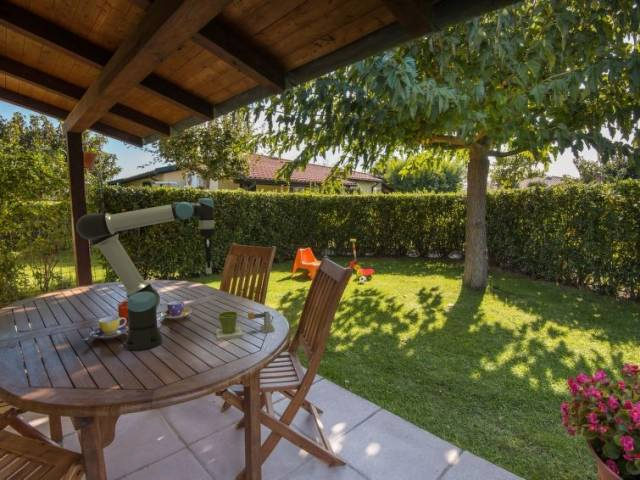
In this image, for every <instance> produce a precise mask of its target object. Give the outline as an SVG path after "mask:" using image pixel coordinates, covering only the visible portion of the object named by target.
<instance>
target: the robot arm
mask: <svg viewBox="0 0 640 480" xmlns="http://www.w3.org/2000/svg"><path fill="white" fill-rule="evenodd" d="M214 205H215V204H214V199H213V198H205V197H204V198H202V197H201V198H198V199H197V201H195V202H194V201H193V202H191V201H189V202H187V201H182V202H181V201H178V202H173V203H171V204H165V205H160V206H154V207H148V208H142V209H136V210H130V211H125V212H119V213H114V214H111V213H108V212H105V213H104V212H103V213H102V212H94V213H88V214H87V213H86V214H84V215H83V216H81V217H80V218H78V220H77V221H76V225H75V226H76V227H75V228H76V232H77V233H78V234H79V236H80V237H81V238H83V239H86V240H89V241H90V243H91V244H92V246H93V247H96V248H99V250H100V251H101V253H102V255H103V256H104V258H105V259H106V260H107V262H108V263H109V265H110V266H111V269H112V270H113V271H114V273H115V274H116V276H117V278H118V279H119V280H120V282H121V283H122V286H123V287H124V288H125V290H126V294H125V296H126V298H127V299H126V300H127V301H126V302H127V303H126V307H127V316H128V317H127V319H128V332H127V336H126V339H125V349H127V350H128V351H132V350H135V351H134V352H136V351H137V352H138V351H145V349H146V350H149V349H153V348H156V347H157V346H159V345H161V344H162V343H163V335H162V333H161V330H160V328H159V326H158V316H157V315H158V314H157V313H158V312H157V309H158V306H160V302H161V297H160V293H159V292H158V291H157V290H156V289H155V288H154V287H153V286H152V284H151V283H150V282H149V281H146V280H144V278H143V277H142V275H141V273H140V272H139V270H138V268H137V267H136V265H135V263H134V262H133V261H132V259H131V258H130V256H129V255H128V253H127V251H126V249H125V248H124V247H123V245H122V243H121V242H120V240H119V236H120V234H119V232H121V231H126V230H130V229H136V228H141V227H145V226H152V225H157V224H158V225H159V224H162V223H169V222H172V221H178V220H186V219H190V218H198V227H199V230H198V231H199V237H203V238H204V239H203V245H204V246H203V247H204V250H205V260H204V263H205V271H206V272H205V274H206V275H210V274H211V275H212V274H213V269H212V266H213V265H212V261H213V259H212V251H211V250H212V242H213V240H212V238H211V237H215V235H216V230H215V225H216V221H215V206H214Z"/></svg>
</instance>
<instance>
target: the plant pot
mask: <svg viewBox="0 0 640 480" xmlns="http://www.w3.org/2000/svg"><path fill="white" fill-rule="evenodd" d="M217 315H218V319H219V321H220V326H221V329H222V331H223V333H230V332H234V331H235V327H237V326H236V323H237V317H238V315H239V313H238V312H237V311H234V310H233V311H231V310H229V311H223V312H221V313H219V314H217Z"/></svg>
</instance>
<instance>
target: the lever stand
mask: <svg viewBox="0 0 640 480" xmlns="http://www.w3.org/2000/svg"><path fill="white" fill-rule="evenodd" d="M266 312H268V313H269V314H265V317H263V325H260V326H259V327H260V328H259V329H260V331H261V332H262V334H266V333H267V334H268V333H274V332H275V331H276V330H275V328H274V326H273V324H272V323H271V313H270V312H269V311H268V310H267V311H263V313H266Z"/></svg>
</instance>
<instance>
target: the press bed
mask: <svg viewBox="0 0 640 480" xmlns="http://www.w3.org/2000/svg"><path fill="white" fill-rule="evenodd" d="M215 335H216V341H218V342H219V341H223V340H224V341H225V340H233V339H239V338H243V337H244V334H243V331H242V329H241V326H235V331H234V332H230V333H223V331H222V328H219V329H215Z"/></svg>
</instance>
